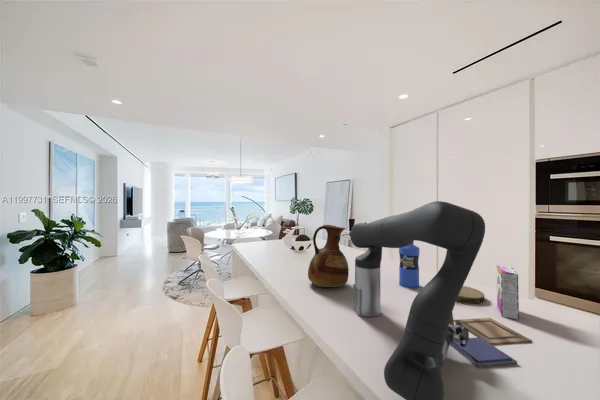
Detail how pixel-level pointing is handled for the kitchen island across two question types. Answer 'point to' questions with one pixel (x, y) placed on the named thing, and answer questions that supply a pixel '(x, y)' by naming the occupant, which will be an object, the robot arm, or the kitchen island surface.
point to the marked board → (493, 331)
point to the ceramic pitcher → (329, 260)
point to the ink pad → (483, 353)
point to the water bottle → (409, 266)
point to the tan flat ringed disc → (470, 296)
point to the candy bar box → (507, 292)
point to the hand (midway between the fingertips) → (441, 318)
